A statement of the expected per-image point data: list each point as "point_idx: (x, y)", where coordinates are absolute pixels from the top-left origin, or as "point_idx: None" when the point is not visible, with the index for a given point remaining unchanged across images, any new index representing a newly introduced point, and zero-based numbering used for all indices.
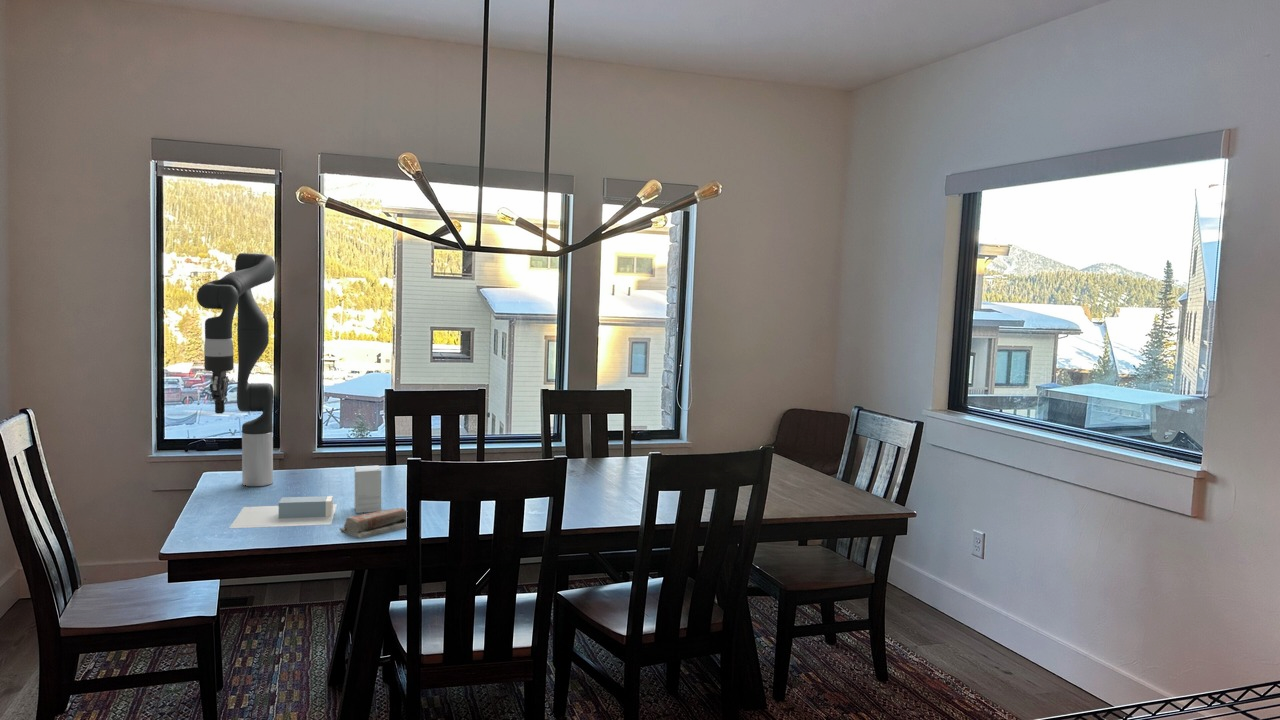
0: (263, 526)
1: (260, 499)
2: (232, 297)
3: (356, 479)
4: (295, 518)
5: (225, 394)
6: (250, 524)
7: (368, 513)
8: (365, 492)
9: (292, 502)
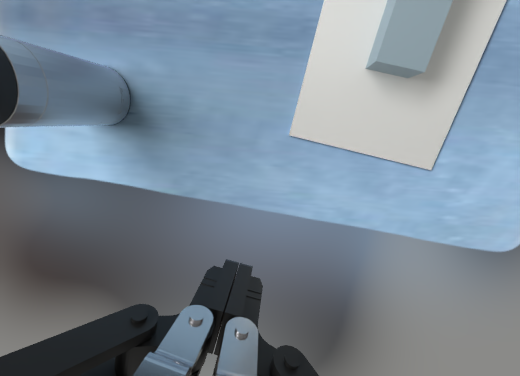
0: (452, 111)
1: (231, 100)
2: None
3: None
4: None
5: (154, 327)
6: (424, 133)
7: None
8: None
9: (437, 38)
